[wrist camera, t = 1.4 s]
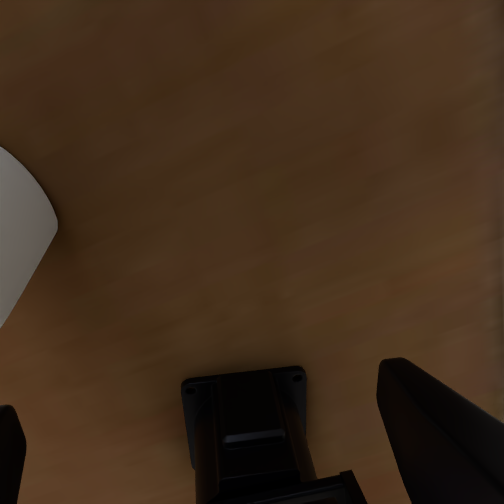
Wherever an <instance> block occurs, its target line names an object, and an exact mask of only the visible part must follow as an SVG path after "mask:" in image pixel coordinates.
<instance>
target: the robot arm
mask: <svg viewBox="0 0 504 504" xmlns="http://www.w3.org/2000/svg"><path fill="white" fill-rule="evenodd" d="M295 375H299V376H297V377H293V376H295ZM306 381H307V377H306V373H305V370H304V369H303V368H302V367H300V366H291V367H282V368H273V369H265V370H256V371H248V372H239V373H231V374H222V375H213V376H205V377H196V378H189V379H186V380H184V381H183V382H182V384H181V395H182V402H183V409H184V416H185V423H186V430H187V437H188V443H189V450H190V457H191V464H192V468H193V469H194V470H195V485H196V504H368V503H367V501H366V499H365V497H364V495H363V493H362V491H361V489H360V486H359V484H358V482H357V480H356V478H355V476H354V474H353V472H352V470H348V471H343V472H340V475H335V476H331V477H326V478H321V479H317V476H316V472H315V469H314V465H313V462H312V458H311V455H310V451H309V448H308V444H307V440H306ZM190 387H193V388H194V389H188V388H190ZM376 396H377V403H378V407H379V411H380V414H381V417H382V420H383V423H384V426H385V429H386V432H387V435H388V438H389V441H390V444H391V447H392V450H393V453H394V456H395V459H396V462H397V465H398V469H399V472H400V474H401V477H402V480H403V483H404V486H405V488H406V491H407V493H408V495H409V498H410V500H411V502H412V504H504V423H502V422H501V421H499V420H498V419H496V418H495V417H493V416H492V415H490V414H489V413H487V412H486V411H484V410H483V409H481V408H480V407H478V406H477V405H475V404H474V403H472V402H471V401H469V400H468V399H466V398H465V397H463V396H462V395H460V394H459V393H457V392H455V391H454V390H452V389H451V388H449V387H448V386H446V385H445V384H443V383H442V382H440V381H439V380H437V379H436V378H434V377H433V376H431V375H430V374H428V373H427V372H425V371H424V370H422V369H421V368H419V367H418V366H416V365H415V364H413V363H412V362H410V361H409V360H407V359H405V358H402V357H398V358H390V359H384V360H382V361H381V362H380V365H379V373H378V383H377V393H376ZM25 456H26V438H25V435H24V432H23V430H22V427H21V424H20V422H19V419H18V416H17V413H16V411H15V409H14V408H13V406H11V405H0V504H17V500H18V494H19V489H20V483H21V478H22V472H23V467H24V461H25Z"/></svg>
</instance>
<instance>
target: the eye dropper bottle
mask: <svg viewBox="0 0 504 504" xmlns="http://www.w3.org/2000/svg"><path fill="white" fill-rule="evenodd" d="M57 230H58V221H57V218H56V215H55V212H54V210H53V207H52V205H51V203H50V201H49V199H48V198H47V196H46V194H45V193H44V191H43V190H42V188H41V187H40V185H39V184H38V182H37V181H36V180H35V178H34V177H33V176H32V175H31V174H30V172H29V171H28V170H27V169H26V168H25V167H24V166H23V165H22V164H21V163H20V162H19V161H18V160H17V159H16V158H14V157H13V156H12V155H11V154H10V153H8V152H7V151H6V150H5V149H3V148H2V147H1V146H0V328H1V327H2V325H3V324H4V322H5V321H6V319H7V317H8V316H9V314H10V313H11V311H12V309H13V308H14V306H15V304H16V303H17V301H18V300H19V298H20V296H21V294H22V293H23V291H24V289H25V287H26V286H27V284H28V282H29V280H30V279H31V277H32V275H33V273H34V272H35V270H36V268H37V266H38V264H39V263H40V261H41V259H42V257H43V256H44V254H45V252H46V250H47V248H48V247H49V245H50V243H51V241H52V239H53V238H54V236H55V234H56V232H57Z"/></svg>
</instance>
